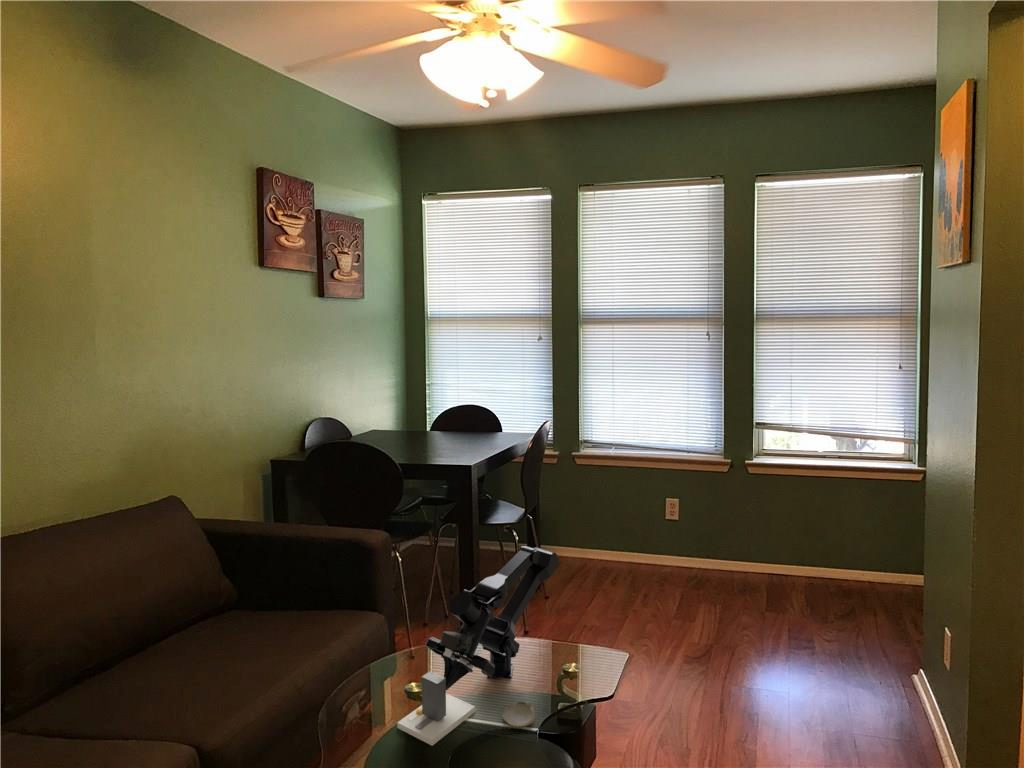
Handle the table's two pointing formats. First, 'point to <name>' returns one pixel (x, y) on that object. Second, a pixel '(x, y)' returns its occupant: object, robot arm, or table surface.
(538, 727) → the table surface
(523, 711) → the seashell
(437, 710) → the handle
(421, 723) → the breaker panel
